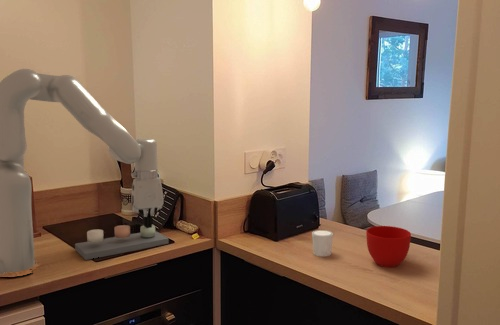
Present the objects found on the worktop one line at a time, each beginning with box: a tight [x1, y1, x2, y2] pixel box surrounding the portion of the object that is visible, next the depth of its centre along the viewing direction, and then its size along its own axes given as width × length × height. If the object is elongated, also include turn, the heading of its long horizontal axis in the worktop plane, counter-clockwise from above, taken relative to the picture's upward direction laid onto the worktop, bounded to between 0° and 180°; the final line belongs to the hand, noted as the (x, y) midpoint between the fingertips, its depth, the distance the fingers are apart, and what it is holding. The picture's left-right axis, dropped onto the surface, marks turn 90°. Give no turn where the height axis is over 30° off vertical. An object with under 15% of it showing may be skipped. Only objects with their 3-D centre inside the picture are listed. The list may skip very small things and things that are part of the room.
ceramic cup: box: [365, 225, 412, 268], centre depth 141 cm, size 13×17×10 cm
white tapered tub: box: [311, 229, 334, 257], centre depth 148 cm, size 7×7×7 cm
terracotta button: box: [114, 224, 131, 238], centre depth 154 cm, size 5×5×3 cm
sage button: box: [139, 224, 156, 237], centre depth 159 cm, size 5×5×3 cm
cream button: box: [86, 228, 105, 243], centre depth 148 cm, size 5×5×3 cm
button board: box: [74, 230, 170, 261], centre depth 154 cm, size 28×12×2 cm, turn 125°
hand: (147, 226), depth 159 cm, fingers closed
